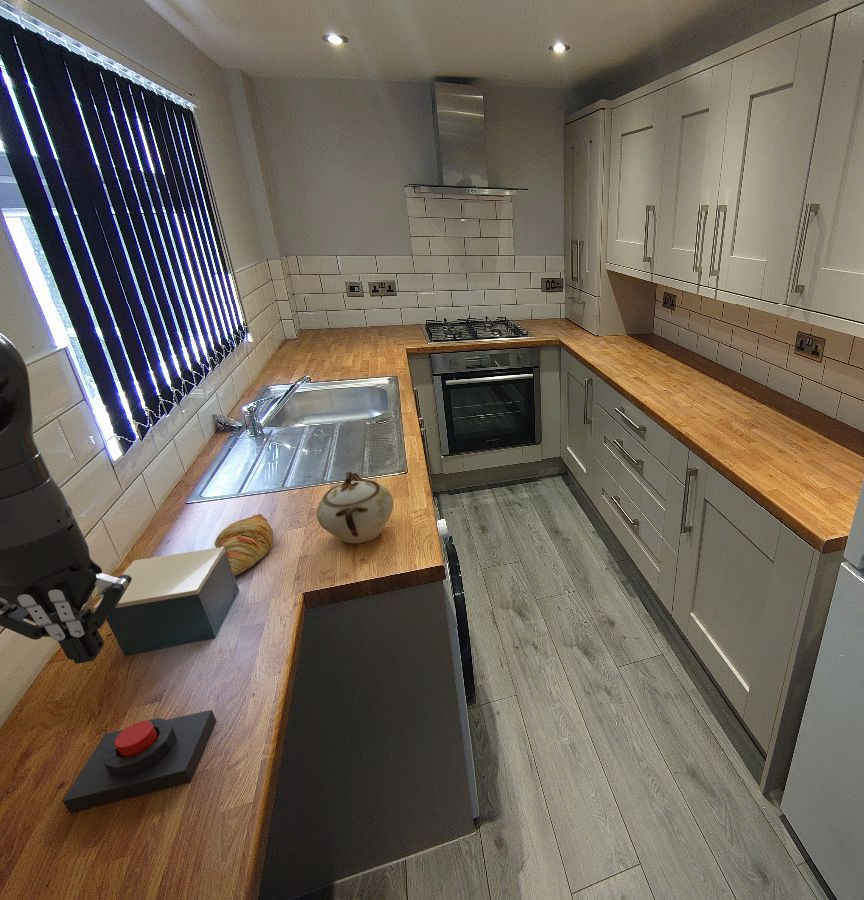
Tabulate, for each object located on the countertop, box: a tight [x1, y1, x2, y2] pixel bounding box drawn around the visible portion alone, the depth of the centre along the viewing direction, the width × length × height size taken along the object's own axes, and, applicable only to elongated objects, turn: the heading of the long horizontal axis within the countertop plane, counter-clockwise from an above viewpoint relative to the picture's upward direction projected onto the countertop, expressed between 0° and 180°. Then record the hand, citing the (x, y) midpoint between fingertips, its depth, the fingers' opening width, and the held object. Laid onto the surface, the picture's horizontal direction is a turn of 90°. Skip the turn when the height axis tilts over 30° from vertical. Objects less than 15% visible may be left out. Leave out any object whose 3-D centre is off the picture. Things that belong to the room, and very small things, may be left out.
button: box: [115, 720, 157, 757], centre depth 64 cm, size 4×4×2 cm
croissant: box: [213, 513, 274, 577], centre depth 107 cm, size 21×10×8 cm, turn 20°
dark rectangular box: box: [106, 551, 240, 656], centre depth 88 cm, size 13×13×9 cm
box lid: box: [92, 547, 225, 612], centre depth 86 cm, size 13×13×1 cm
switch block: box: [62, 709, 217, 814], centre depth 65 cm, size 12×9×4 cm
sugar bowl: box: [316, 471, 394, 544], centre depth 111 cm, size 20×15×15 cm
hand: (89, 656), depth 60 cm, fingers closed
